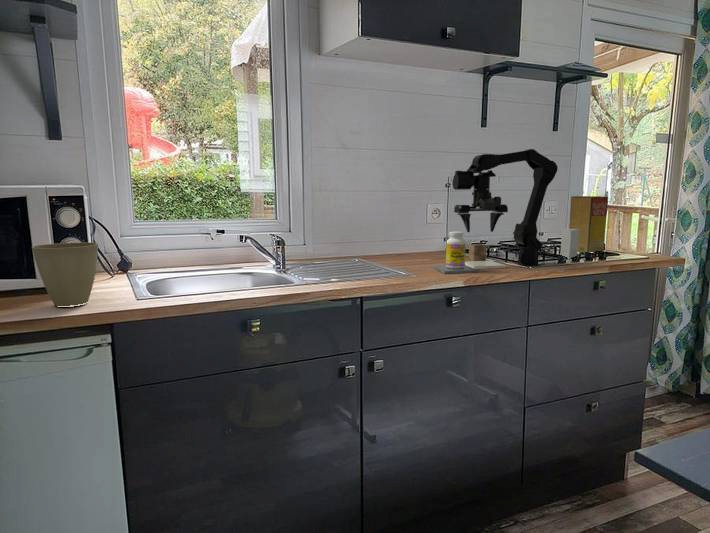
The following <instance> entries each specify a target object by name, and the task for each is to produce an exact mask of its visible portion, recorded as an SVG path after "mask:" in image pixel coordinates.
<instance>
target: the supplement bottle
mask: <svg viewBox="0 0 710 533" xmlns="http://www.w3.org/2000/svg"><path fill="white" fill-rule="evenodd" d="M463 235H464V232H463V231H459V230H458V231H455V230H454V231H449V238H448V239H447V240H446V245H445V246H446V247H445V248H446V249H445V251H446V252H445V253H446V254H445V265H446V267H447V268H450V269H462V268H464V267H465V262H466V243H467V242H466V240H465V239H463V237H464V236H463Z"/></svg>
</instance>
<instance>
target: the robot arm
mask: <svg viewBox="0 0 710 533" xmlns="http://www.w3.org/2000/svg"><path fill="white" fill-rule="evenodd" d="M518 162H526V163H527V165H528V166H529V168H531V170H532V171H533V173H532V174H533V175H532V179H533V187H532V190H531V193H530V196H529V200H528V203H527V206H526V210H525V214H524V216H523V219H522V221H521V222H520V223H516V224H515V227H514V231H513V232H512V234H513V240H514V242H516V244H517V247H518V248H519V251H518V253H517V262H516V264H519V265H520V266H525V267H529V266H531V267H533V266H541V263H539V257H540V256H539V254H540V251H541V250H542V247H543V243H542V242H541V241H540V240H539V239H538V237H537V236H538V227H537V221H538V218H539V216H540V211H541V209H542V206H543V202H544V198H545V196H546V192H547V189H548V186H549V185H550V184H551V182H553V180H554V179H555V176H556V174H557V172H558V168H559V167H558V165H557V163H556V161H554V160H550V159H549V158H548V157H546V156H545V155H542V154H541V153H539V152H538V150H536V149H534V148H528V149H525V150H520V151H515V152H514V151H513V152H508V153H502V154H494V153H483V154H478V155H475V156H474V158H472V162H471V164H470V166H469V167H468V169H467V170H464V171H463V170H455V172H454V176H453V179H452V188H453V189H454V190H457V191H458V190H460V191H462V190H466V191H467V190H468V191H469V190H471V189H472V188H473V192H472V191H471V196H472V198H473V200H472V203H471V205H469V204H456V205H454V211H453V212H454V213H457V215H458V216H460V218H461V220H462V222H463V224H464V227H465V230H466V232H467V233H470V230H471V224H470V223H471V222H470V219H471V215H472V214H471V213H470V212H490V215H489V216H490V218H489V220H490V223H489V224H490V225H489V226H490V227H489V228H490V232H491V233H494V230H495V227H496V225H497V223H498V221H499V219H500V217H501V216H502V215H505V213H508V212H509V208H508V205H507V204H502V197H501V196H494V197H492V192H491V190H490V187H491V177H493V178H494V177H496V176H497V174H495V172H493V170H491V169H494V168H497V167H499V166H502V165H508V164H513V163H518ZM483 171H485V172H483Z"/></svg>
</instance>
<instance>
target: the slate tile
mask: <svg viewBox="0 0 710 533" xmlns="http://www.w3.org/2000/svg"><path fill="white" fill-rule="evenodd" d="M432 268H433V269H434V270H435V271H437V272H440V273H441V274H444V275H452V274H454V273H456V274H475V273H476V274H477V273H478V269H474V268H472V267H469V266H466V265H465V267H464V268H462V269H450V268H447V267H446V264H445V265H444V264H443V265H433V266H432Z"/></svg>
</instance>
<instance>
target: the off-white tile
mask: <svg viewBox="0 0 710 533" xmlns="http://www.w3.org/2000/svg"><path fill="white" fill-rule="evenodd" d="M465 265H466V266H469V267H472V268H474V269H477V270H486V269H487V270H488V269H505V268H506V264H503V263H500V262H497V261H493V260H486V261H469V260H468V261H466V260H465Z"/></svg>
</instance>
